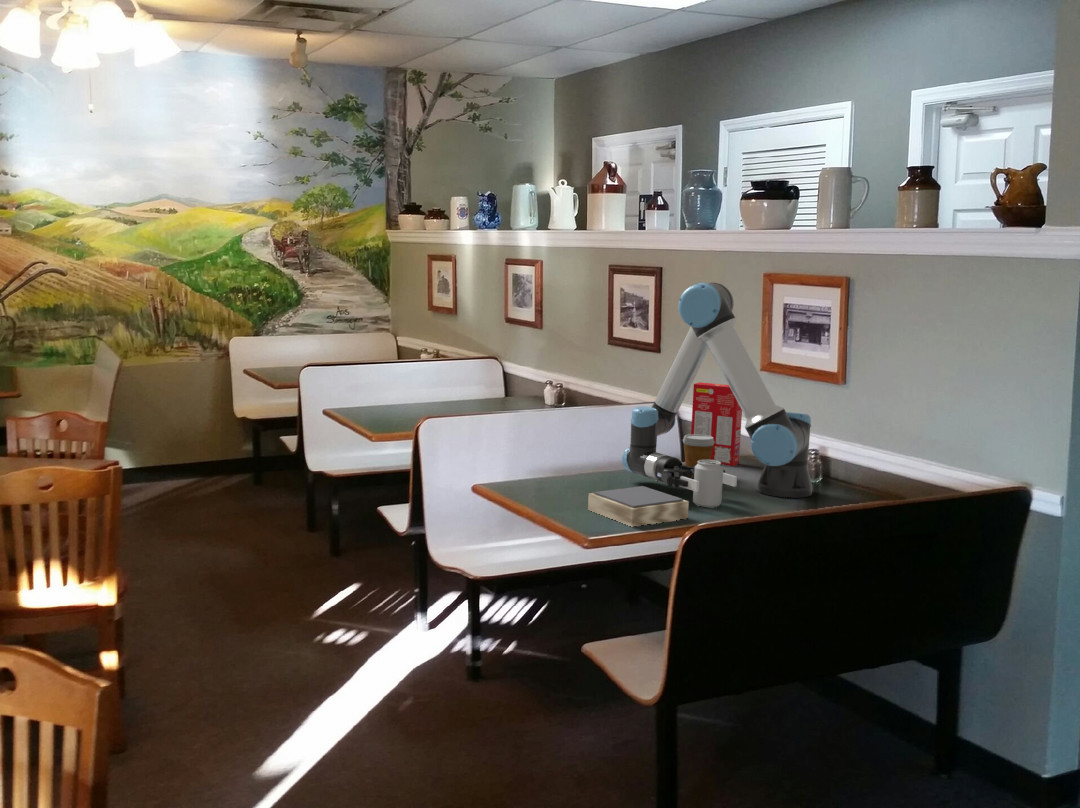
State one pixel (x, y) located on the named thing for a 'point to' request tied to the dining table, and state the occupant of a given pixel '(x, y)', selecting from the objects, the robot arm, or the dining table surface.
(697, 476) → the can
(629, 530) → the dining table surface
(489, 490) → the dining table surface
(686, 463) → the disposable coffee cup
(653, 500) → the dock
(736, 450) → the food packaging
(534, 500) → the dining table surface
